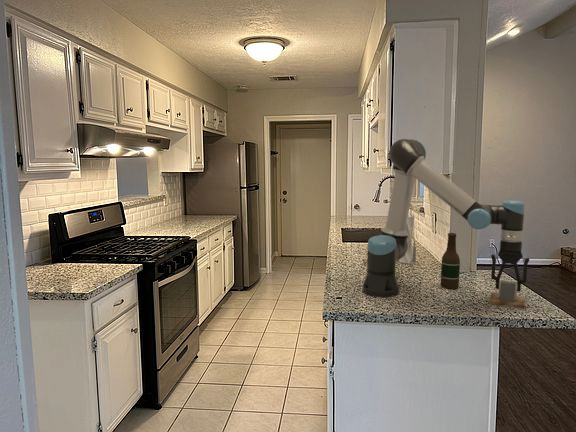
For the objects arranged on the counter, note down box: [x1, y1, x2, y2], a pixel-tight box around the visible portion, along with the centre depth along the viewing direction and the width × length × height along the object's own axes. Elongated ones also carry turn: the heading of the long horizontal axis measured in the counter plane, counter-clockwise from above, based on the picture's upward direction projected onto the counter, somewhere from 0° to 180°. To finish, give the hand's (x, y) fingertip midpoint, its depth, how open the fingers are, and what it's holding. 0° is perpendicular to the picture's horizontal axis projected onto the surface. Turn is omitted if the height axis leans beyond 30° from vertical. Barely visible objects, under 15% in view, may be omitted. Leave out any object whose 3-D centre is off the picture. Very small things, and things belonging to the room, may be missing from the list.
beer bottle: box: [440, 232, 461, 290], centre depth 191 cm, size 8×8×24 cm
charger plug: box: [500, 280, 515, 303], centre depth 173 cm, size 5×10×6 cm, turn 152°
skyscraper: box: [398, 211, 417, 265], centre depth 234 cm, size 8×8×28 cm
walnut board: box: [488, 291, 525, 309], centre depth 173 cm, size 12×12×1 cm
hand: (507, 297), depth 173 cm, fingers closed on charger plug, 5 cm apart
